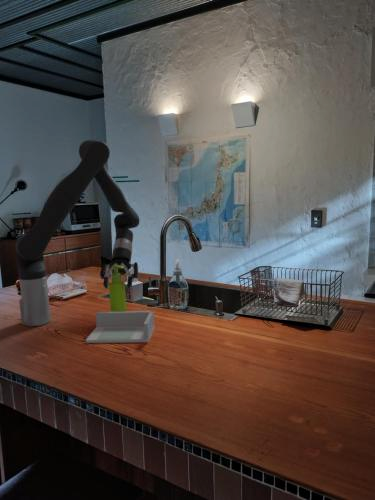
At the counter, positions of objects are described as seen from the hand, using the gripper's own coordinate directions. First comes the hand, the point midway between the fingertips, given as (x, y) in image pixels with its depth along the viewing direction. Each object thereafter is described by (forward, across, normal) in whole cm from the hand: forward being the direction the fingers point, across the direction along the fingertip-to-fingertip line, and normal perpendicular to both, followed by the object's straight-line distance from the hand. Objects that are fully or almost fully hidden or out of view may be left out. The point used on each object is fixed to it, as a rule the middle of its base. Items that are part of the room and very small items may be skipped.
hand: (117, 287), depth 144 cm
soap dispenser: (+8, 0, +9) cm, 12 cm away
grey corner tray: (+21, +5, -4) cm, 22 cm away
